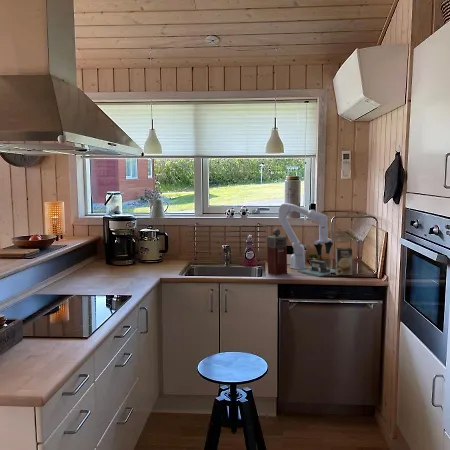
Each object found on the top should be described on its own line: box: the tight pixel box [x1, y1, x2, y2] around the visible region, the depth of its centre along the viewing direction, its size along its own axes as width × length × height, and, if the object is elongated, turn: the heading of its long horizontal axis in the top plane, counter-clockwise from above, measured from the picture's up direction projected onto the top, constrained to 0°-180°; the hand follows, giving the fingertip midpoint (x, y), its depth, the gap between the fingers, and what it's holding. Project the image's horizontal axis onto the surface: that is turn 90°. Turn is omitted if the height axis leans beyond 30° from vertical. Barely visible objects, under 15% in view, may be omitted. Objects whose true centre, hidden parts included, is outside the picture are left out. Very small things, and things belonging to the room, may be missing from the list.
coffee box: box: [335, 247, 353, 276], centre depth 270 cm, size 9×6×16 cm
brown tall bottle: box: [266, 228, 288, 276], centre depth 279 cm, size 9×11×28 cm
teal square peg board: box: [297, 265, 336, 277], centre depth 280 cm, size 18×18×4 cm
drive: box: [309, 259, 328, 272], centre depth 280 cm, size 10×4×6 cm, turn 34°
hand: (323, 254), depth 289 cm, fingers open, 7 cm apart
